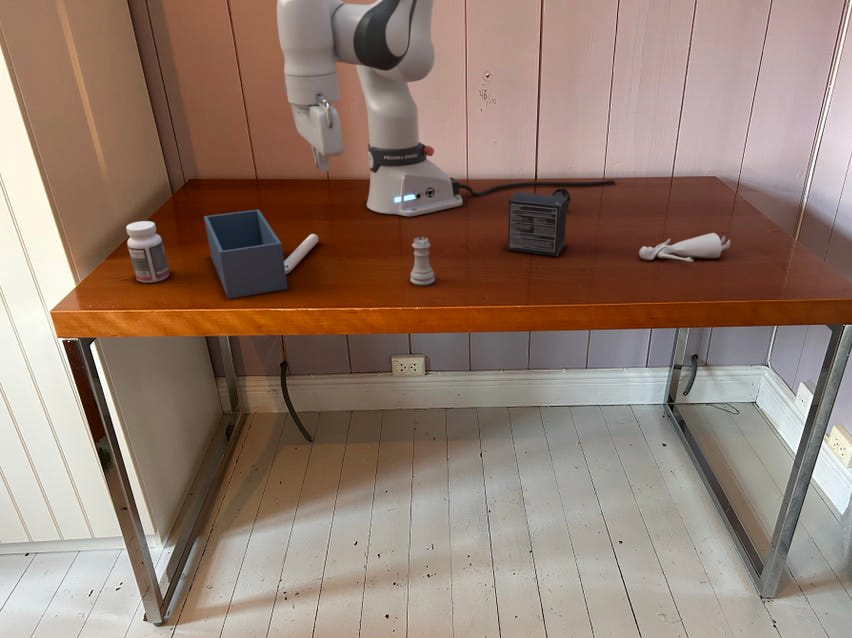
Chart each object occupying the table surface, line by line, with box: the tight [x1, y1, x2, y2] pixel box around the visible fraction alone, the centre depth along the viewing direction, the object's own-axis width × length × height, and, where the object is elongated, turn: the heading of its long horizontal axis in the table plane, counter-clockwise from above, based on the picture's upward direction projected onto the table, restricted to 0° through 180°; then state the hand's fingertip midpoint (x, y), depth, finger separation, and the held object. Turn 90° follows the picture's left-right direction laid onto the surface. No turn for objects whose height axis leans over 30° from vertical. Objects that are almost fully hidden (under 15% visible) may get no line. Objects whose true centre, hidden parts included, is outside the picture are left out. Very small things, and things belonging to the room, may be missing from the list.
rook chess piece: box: [409, 236, 435, 287], centre depth 129 cm, size 4×4×8 cm
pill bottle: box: [126, 220, 170, 284], centre depth 129 cm, size 6×6×10 cm
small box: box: [506, 191, 568, 257], centre depth 143 cm, size 11×6×10 cm, turn 71°
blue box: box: [203, 209, 288, 299], centre depth 132 cm, size 10×20×8 cm, turn 25°
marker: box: [284, 233, 319, 275], centre depth 139 cm, size 18×2×2 cm, turn 172°
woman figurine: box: [638, 232, 731, 263], centre depth 141 cm, size 12×4×18 cm
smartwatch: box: [551, 187, 571, 208], centre depth 166 cm, size 4×5×5 cm
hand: (323, 169), depth 132 cm, fingers closed
